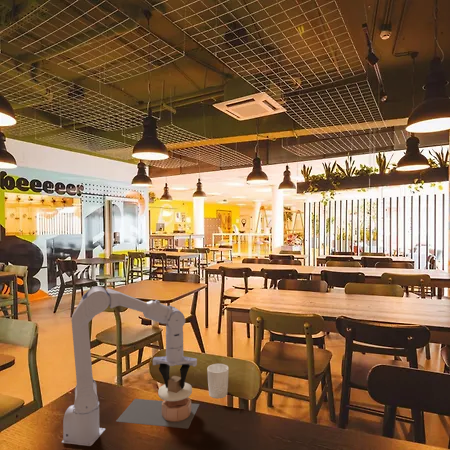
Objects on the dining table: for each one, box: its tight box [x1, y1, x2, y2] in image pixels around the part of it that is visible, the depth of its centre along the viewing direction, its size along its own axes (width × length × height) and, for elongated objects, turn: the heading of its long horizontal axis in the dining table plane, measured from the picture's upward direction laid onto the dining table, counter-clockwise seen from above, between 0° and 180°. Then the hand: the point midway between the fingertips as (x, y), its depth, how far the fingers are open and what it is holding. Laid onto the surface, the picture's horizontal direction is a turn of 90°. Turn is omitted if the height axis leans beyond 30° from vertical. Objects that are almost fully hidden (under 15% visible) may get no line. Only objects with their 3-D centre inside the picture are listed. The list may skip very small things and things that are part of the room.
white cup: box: [206, 363, 230, 399], centre depth 121 cm, size 8×8×10 cm
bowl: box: [162, 397, 192, 422], centre depth 109 cm, size 9×9×4 cm
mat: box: [115, 398, 201, 430], centre depth 110 cm, size 24×14×1 cm, turn 80°
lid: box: [157, 375, 193, 401], centre depth 109 cm, size 11×11×4 cm
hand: (175, 386), depth 109 cm, fingers closed on lid, 4 cm apart
